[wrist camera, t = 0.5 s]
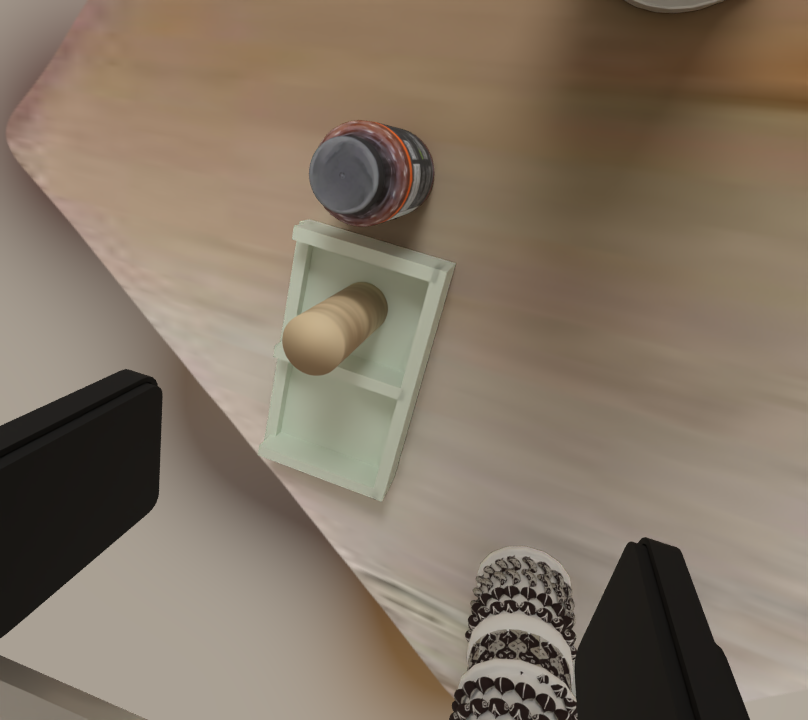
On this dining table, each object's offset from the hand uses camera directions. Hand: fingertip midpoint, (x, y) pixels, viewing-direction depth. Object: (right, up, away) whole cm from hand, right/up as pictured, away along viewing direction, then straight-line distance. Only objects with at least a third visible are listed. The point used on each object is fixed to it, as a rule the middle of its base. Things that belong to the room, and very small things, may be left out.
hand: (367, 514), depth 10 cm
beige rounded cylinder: (-3, +7, +31) cm, 32 cm away
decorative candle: (+12, -17, +37) cm, 43 cm away
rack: (-3, +3, +34) cm, 34 cm away
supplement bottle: (0, +17, +28) cm, 33 cm away
